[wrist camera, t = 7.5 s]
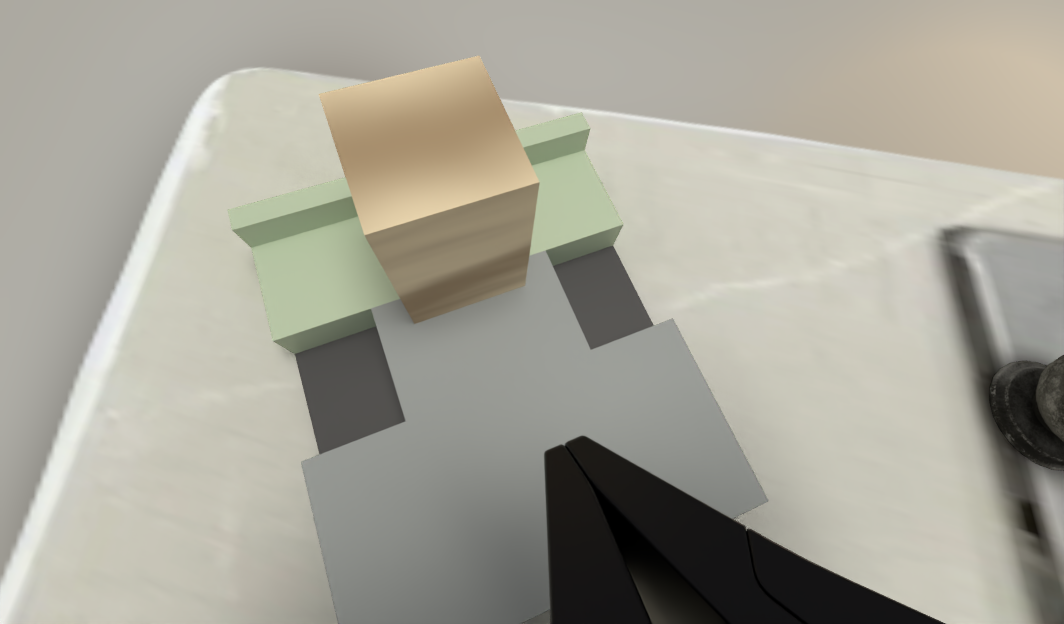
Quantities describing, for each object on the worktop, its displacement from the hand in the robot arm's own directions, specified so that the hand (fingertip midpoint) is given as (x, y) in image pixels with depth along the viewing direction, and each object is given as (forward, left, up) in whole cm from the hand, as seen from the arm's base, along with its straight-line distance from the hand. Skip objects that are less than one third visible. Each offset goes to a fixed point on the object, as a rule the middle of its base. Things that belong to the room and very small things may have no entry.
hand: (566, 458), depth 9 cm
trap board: (+5, 0, -12) cm, 13 cm away
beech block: (+10, +1, -9) cm, 13 cm away
